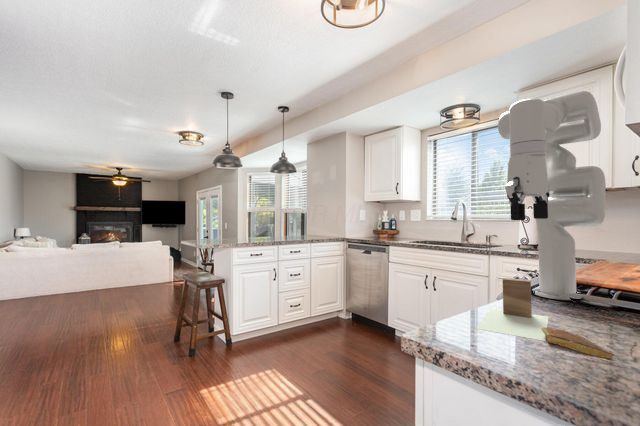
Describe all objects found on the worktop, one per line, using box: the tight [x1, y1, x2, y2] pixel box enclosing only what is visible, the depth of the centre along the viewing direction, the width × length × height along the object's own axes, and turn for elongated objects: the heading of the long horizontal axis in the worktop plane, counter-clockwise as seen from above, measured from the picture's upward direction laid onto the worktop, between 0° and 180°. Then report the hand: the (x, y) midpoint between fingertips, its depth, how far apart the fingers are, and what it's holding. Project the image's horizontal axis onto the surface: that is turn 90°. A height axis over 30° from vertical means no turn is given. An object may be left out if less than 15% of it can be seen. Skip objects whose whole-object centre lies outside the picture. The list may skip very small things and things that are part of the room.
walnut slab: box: [502, 277, 533, 318], centre depth 83 cm, size 2×6×9 cm, turn 53°
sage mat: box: [476, 308, 549, 342], centre depth 78 cm, size 19×13×1 cm
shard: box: [541, 327, 615, 361], centre depth 63 cm, size 11×8×2 cm
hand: (529, 219), depth 81 cm, fingers open, 9 cm apart
